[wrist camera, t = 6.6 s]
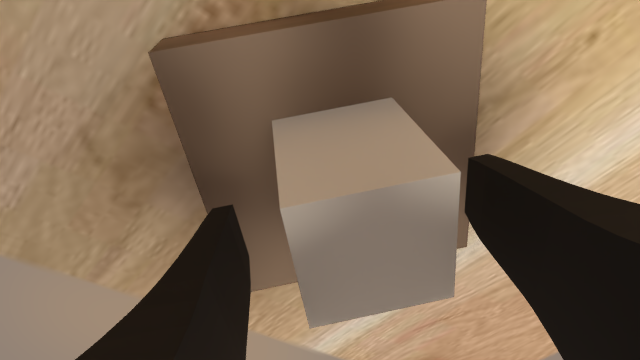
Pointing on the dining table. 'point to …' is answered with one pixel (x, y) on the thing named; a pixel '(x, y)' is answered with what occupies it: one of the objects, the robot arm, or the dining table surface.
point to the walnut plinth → (316, 98)
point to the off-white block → (366, 210)
